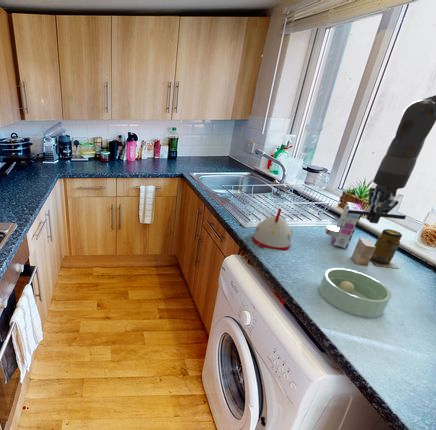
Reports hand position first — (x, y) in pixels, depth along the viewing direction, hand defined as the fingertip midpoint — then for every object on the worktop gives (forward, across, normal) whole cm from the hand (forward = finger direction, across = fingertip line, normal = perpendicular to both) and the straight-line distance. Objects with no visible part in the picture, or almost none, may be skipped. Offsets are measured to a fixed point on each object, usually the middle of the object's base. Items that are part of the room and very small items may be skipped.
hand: (371, 221), depth 94 cm
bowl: (+19, -20, +6) cm, 28 cm away
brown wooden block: (+19, +7, -5) cm, 21 cm away
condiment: (+19, +11, -13) cm, 26 cm away
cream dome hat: (+20, +11, +24) cm, 33 cm away
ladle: (+6, 0, +2) cm, 7 cm away
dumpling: (+18, -15, +7) cm, 25 cm away
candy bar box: (+20, +22, -3) cm, 30 cm away
